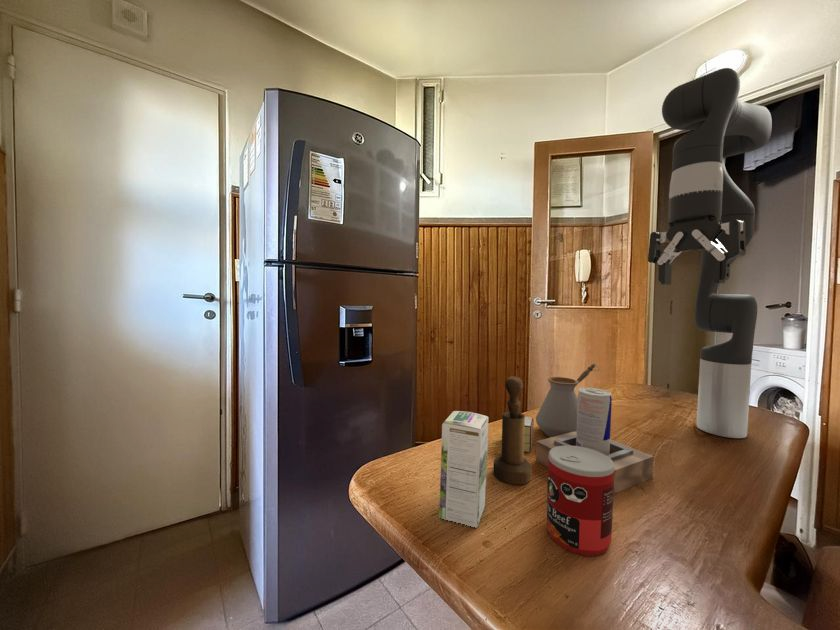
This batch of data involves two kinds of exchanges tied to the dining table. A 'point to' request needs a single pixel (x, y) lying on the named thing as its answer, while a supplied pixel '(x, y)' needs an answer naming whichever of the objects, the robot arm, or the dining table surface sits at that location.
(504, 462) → the mortar and pestle
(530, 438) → the puzzle toy
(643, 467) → the block
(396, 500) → the dining table surface
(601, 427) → the beverage can
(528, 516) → the dining table surface
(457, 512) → the syrup box
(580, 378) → the coffee pot
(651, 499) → the dining table surface
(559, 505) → the canned food
